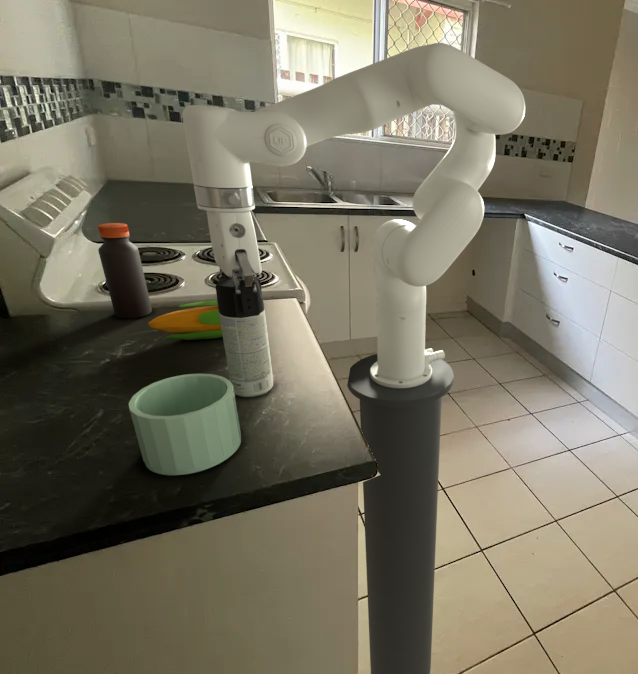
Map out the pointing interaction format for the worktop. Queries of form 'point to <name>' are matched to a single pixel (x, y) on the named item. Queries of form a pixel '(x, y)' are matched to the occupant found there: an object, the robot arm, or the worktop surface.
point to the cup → (186, 423)
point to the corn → (191, 322)
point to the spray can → (245, 343)
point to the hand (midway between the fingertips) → (241, 306)
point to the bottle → (123, 272)
